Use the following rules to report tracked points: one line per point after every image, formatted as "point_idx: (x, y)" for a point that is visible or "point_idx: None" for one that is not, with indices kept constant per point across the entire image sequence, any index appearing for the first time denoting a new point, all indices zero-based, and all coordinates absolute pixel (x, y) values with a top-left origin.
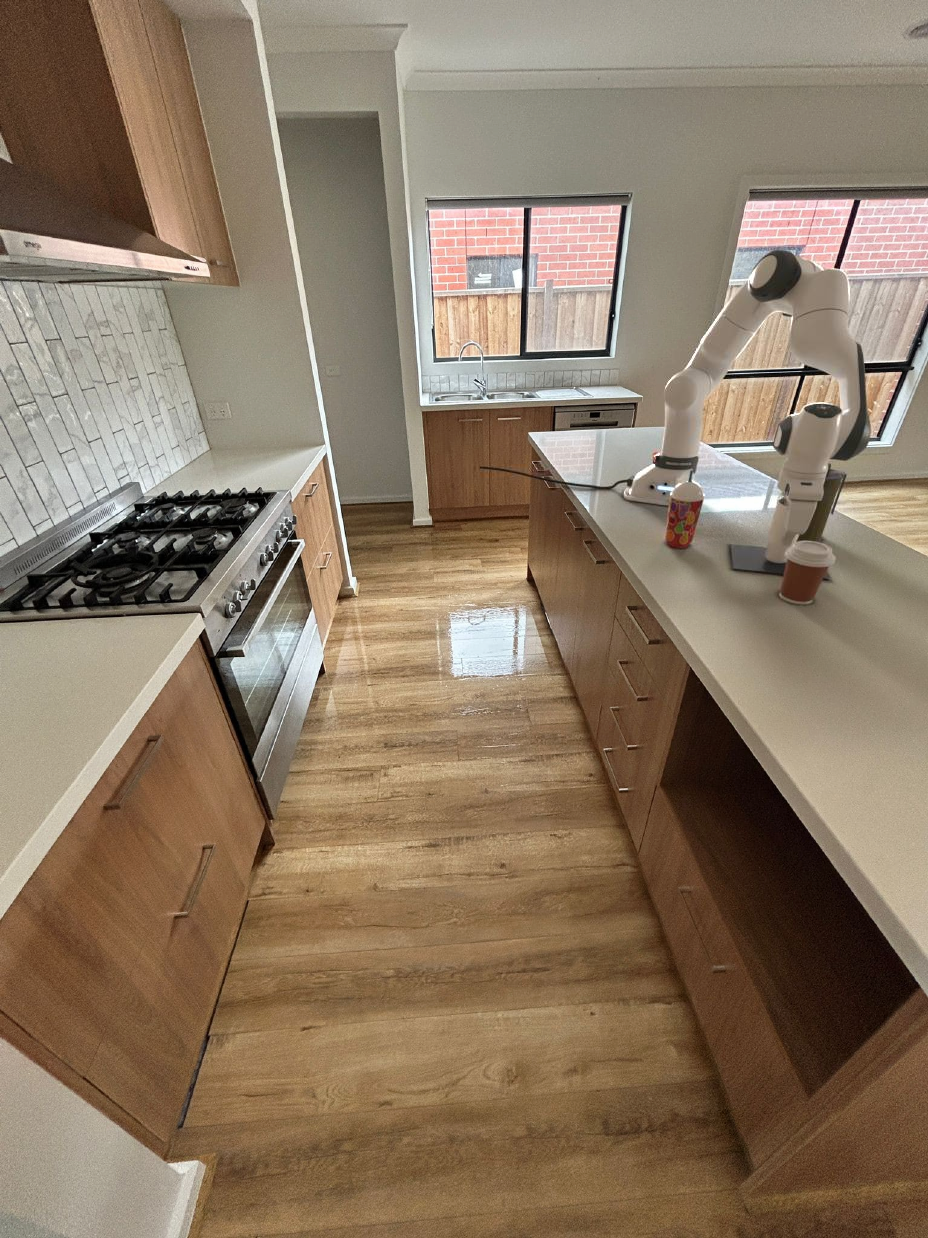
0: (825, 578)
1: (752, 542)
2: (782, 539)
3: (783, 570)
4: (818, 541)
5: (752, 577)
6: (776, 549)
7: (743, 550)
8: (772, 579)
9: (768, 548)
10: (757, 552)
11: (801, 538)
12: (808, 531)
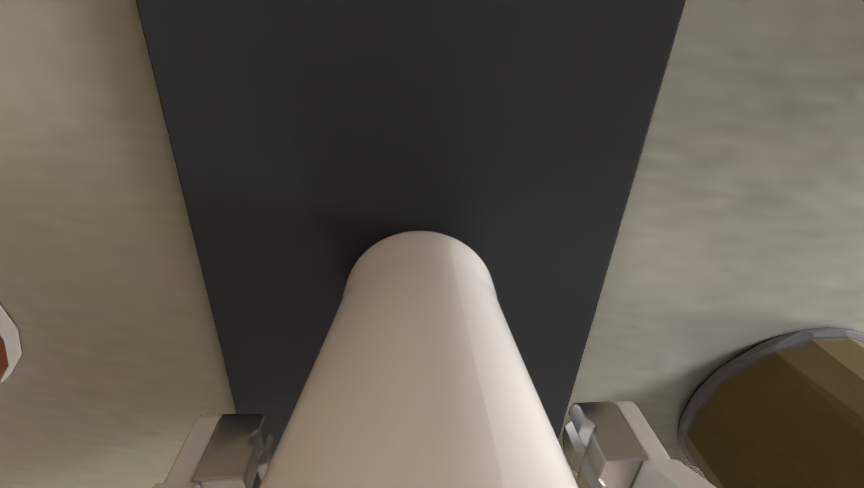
0: None
1: (724, 178)
2: (240, 442)
3: (264, 306)
4: (691, 460)
5: (63, 108)
6: (329, 329)
7: (554, 92)
8: (113, 236)
9: (390, 273)
10: (524, 190)
11: (704, 422)
12: (729, 477)
